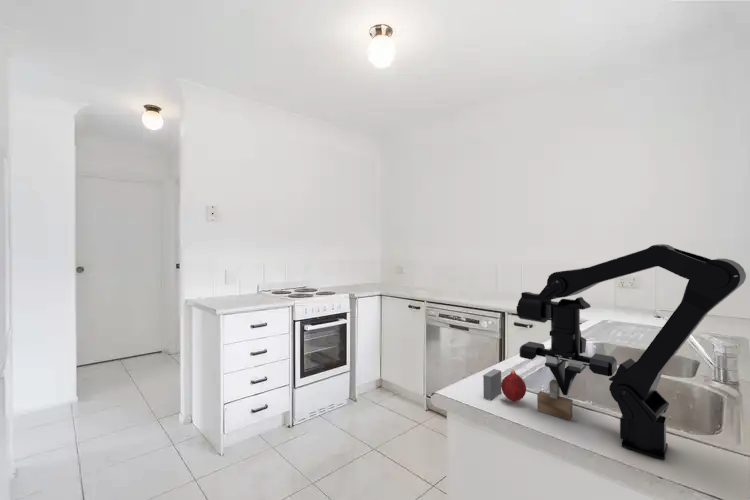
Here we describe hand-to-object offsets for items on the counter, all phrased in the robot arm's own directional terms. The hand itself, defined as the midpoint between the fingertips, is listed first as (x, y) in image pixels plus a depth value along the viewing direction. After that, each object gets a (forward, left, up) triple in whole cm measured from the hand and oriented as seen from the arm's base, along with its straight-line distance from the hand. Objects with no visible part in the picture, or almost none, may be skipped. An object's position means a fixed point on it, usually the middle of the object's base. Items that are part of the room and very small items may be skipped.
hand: (565, 394), depth 79 cm
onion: (+12, 0, -6) cm, 13 cm away
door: (+2, 0, -5) cm, 6 cm away
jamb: (+17, 0, -5) cm, 18 cm away
